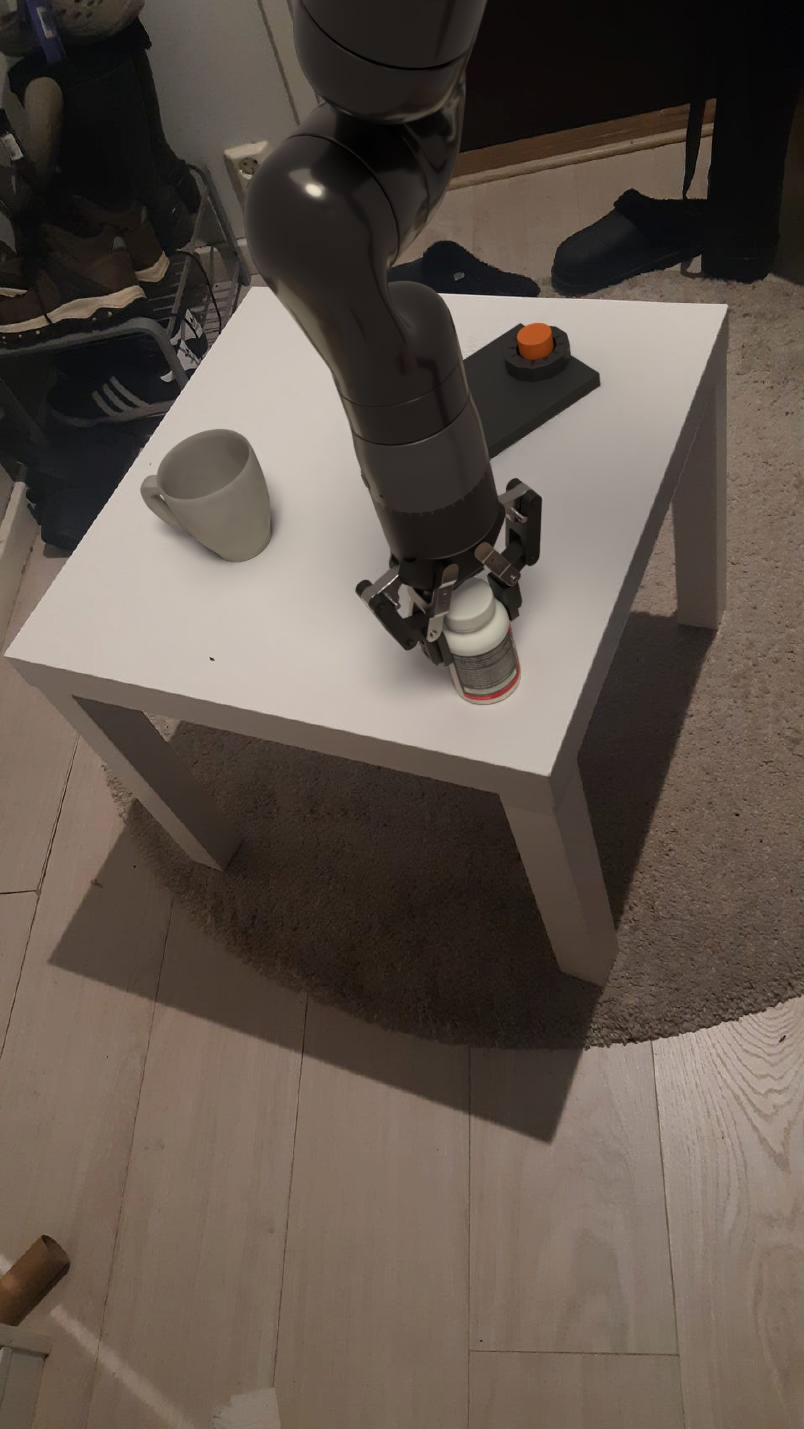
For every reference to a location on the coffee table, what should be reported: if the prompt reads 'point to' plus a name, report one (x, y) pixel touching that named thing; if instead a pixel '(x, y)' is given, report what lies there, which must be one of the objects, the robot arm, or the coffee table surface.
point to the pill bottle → (480, 644)
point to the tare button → (535, 341)
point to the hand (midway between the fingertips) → (475, 634)
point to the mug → (213, 493)
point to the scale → (524, 386)
